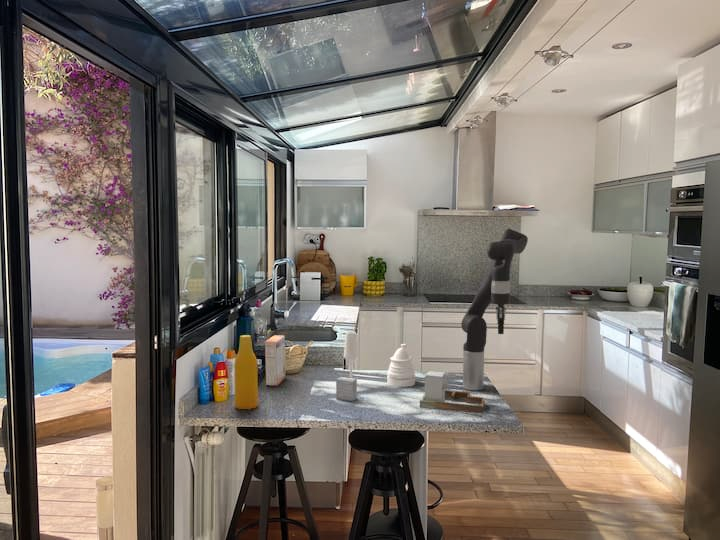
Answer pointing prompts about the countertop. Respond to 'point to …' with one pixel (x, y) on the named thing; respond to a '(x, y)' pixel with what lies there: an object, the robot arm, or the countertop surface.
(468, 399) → the wooden tray
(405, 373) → the honey pot
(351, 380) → the medicine box
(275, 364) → the cracker box
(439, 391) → the supplement box
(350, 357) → the champagne flute
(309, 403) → the countertop surface
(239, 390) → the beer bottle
